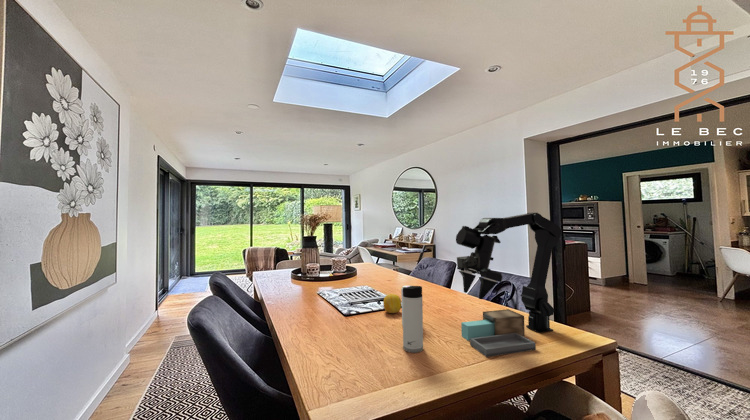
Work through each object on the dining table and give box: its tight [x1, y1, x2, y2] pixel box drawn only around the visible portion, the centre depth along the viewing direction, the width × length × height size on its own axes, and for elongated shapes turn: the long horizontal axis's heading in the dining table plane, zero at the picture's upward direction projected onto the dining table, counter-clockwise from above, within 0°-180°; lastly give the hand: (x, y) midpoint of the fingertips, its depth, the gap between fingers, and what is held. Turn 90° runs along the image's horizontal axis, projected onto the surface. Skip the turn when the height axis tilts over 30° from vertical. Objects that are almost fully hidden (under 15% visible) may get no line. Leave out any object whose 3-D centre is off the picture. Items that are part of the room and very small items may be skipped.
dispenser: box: [482, 309, 526, 337], centre depth 107 cm, size 12×8×7 cm
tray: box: [469, 333, 537, 358], centre depth 95 cm, size 18×9×2 cm, turn 105°
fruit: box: [382, 293, 402, 314], centre depth 132 cm, size 9×8×8 cm
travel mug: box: [402, 285, 424, 354], centre depth 95 cm, size 6×7×20 cm
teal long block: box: [460, 319, 495, 342], centre depth 105 cm, size 12×4×5 cm, turn 104°
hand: (472, 295), depth 104 cm, fingers open, 9 cm apart
